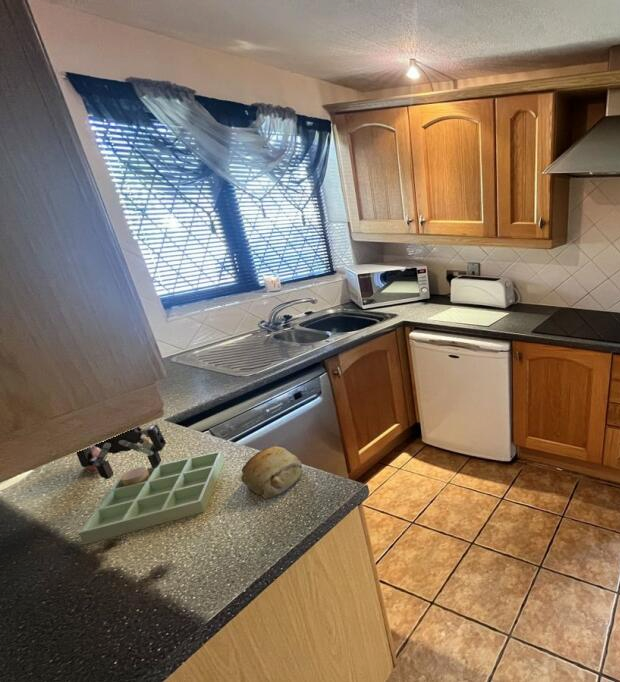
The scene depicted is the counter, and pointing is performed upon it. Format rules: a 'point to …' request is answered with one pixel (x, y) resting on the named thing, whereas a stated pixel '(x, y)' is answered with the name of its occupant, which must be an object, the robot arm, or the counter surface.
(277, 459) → the pastry
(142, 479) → the beige short cylinder
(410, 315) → the counter surface
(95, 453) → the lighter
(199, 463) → the grid
